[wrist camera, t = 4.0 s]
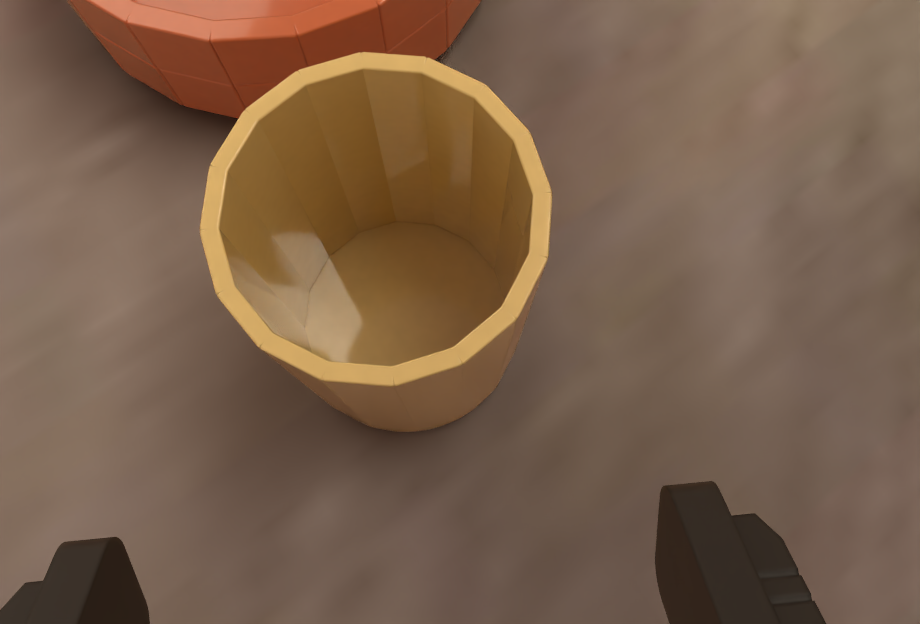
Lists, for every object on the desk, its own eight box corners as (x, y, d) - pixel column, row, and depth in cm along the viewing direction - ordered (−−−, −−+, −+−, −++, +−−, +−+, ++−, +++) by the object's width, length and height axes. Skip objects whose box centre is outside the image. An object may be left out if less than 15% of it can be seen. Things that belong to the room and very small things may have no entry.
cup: (421, 177, 25) (400, -9, 16) (561, 334, 24) (623, 230, 15) (254, 309, 24) (132, 191, 15) (392, 479, 23) (349, 460, 14)
